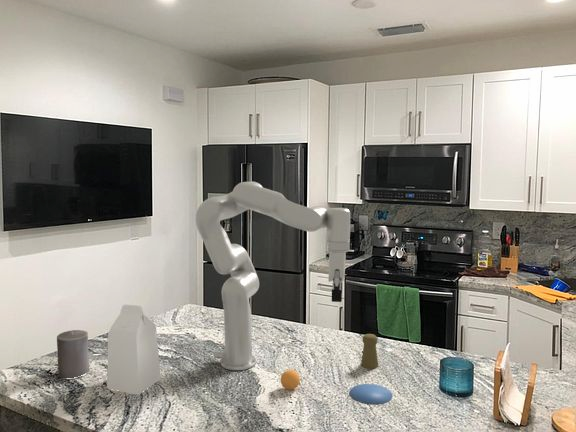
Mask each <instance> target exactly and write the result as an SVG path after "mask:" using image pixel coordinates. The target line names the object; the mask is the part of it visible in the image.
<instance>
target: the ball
mask: <svg viewBox="0 0 576 432" xmlns="http://www.w3.org/2000/svg"><path fill="white" fill-rule="evenodd" d="M300 382H301V378H300V374H299V373H298V372H297V371H296V370H294V369H287V370H284V372H282V374H281V377H280V384H281V386H282V387H283V388H284V389H286V390H287V391H288V390H289V391H293V390H296V389H297V387H298V386H299V385H300Z"/></svg>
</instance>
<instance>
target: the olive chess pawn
mask: <svg viewBox="0 0 576 432" xmlns="http://www.w3.org/2000/svg"><path fill="white" fill-rule="evenodd" d="M362 344H363V349H362V355H361V362H360V367H362V368H364V369H368V370H370V369H371V370H373V369H377V368H378V367H379V360H378V352H377V344H378V337H377V335H375V334H372V333H365V334H364V335H363V336H362Z"/></svg>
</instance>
